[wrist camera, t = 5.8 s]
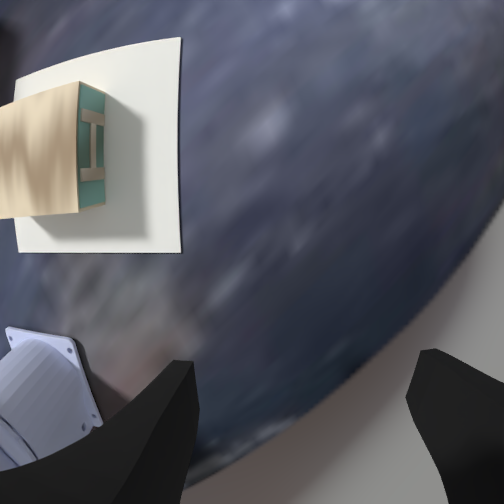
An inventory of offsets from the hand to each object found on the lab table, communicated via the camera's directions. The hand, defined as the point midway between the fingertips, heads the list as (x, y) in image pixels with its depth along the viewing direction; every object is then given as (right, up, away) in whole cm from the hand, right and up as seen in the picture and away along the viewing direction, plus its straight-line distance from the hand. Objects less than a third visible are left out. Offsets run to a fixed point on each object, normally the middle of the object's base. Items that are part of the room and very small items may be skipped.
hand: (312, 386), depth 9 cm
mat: (-13, +10, +7) cm, 18 cm away
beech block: (-11, +10, +6) cm, 16 cm away
